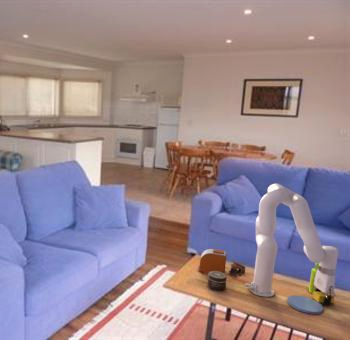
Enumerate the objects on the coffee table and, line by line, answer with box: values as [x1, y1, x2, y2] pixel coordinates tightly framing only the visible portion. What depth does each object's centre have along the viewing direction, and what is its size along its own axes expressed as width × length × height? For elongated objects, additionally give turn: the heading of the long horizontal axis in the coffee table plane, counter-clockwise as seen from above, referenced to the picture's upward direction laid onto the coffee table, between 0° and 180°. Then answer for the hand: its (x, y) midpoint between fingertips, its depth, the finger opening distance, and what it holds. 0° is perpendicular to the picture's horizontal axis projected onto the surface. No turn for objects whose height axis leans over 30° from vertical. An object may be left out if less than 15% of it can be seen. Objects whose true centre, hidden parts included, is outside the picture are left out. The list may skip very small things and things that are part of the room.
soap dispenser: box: [308, 263, 319, 295], centre depth 205 cm, size 6×7×20 cm
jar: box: [207, 271, 228, 292], centre depth 208 cm, size 10×10×8 cm
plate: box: [287, 295, 324, 315], centre depth 192 cm, size 16×16×1 cm
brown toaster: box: [198, 248, 228, 275], centre depth 228 cm, size 15×8×14 cm, turn 69°
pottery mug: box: [228, 261, 246, 278], centre depth 224 cm, size 12×10×8 cm
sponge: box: [312, 291, 335, 305], centre depth 197 cm, size 8×5×4 cm, turn 92°
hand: (322, 300), depth 197 cm, fingers open, 7 cm apart
